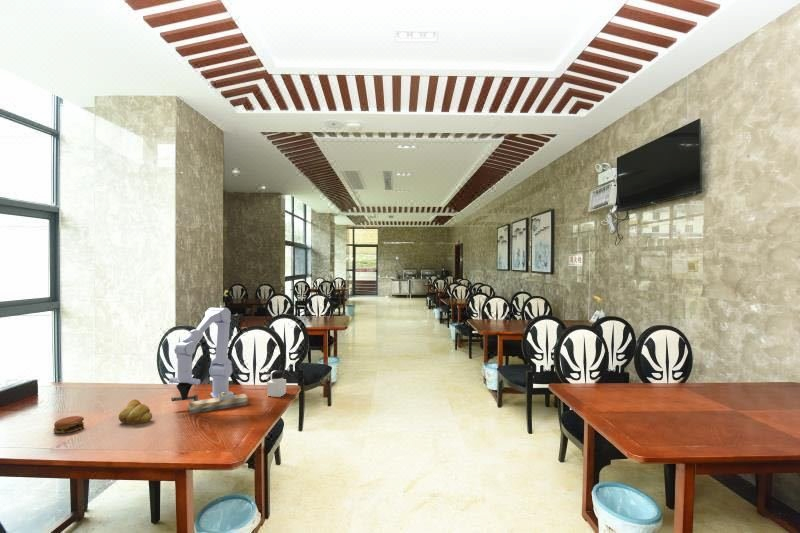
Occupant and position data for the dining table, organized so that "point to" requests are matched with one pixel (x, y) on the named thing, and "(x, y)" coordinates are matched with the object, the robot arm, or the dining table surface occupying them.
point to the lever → (186, 399)
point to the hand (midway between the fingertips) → (184, 399)
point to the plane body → (217, 403)
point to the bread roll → (135, 413)
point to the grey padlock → (276, 384)
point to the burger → (68, 424)
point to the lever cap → (225, 395)
